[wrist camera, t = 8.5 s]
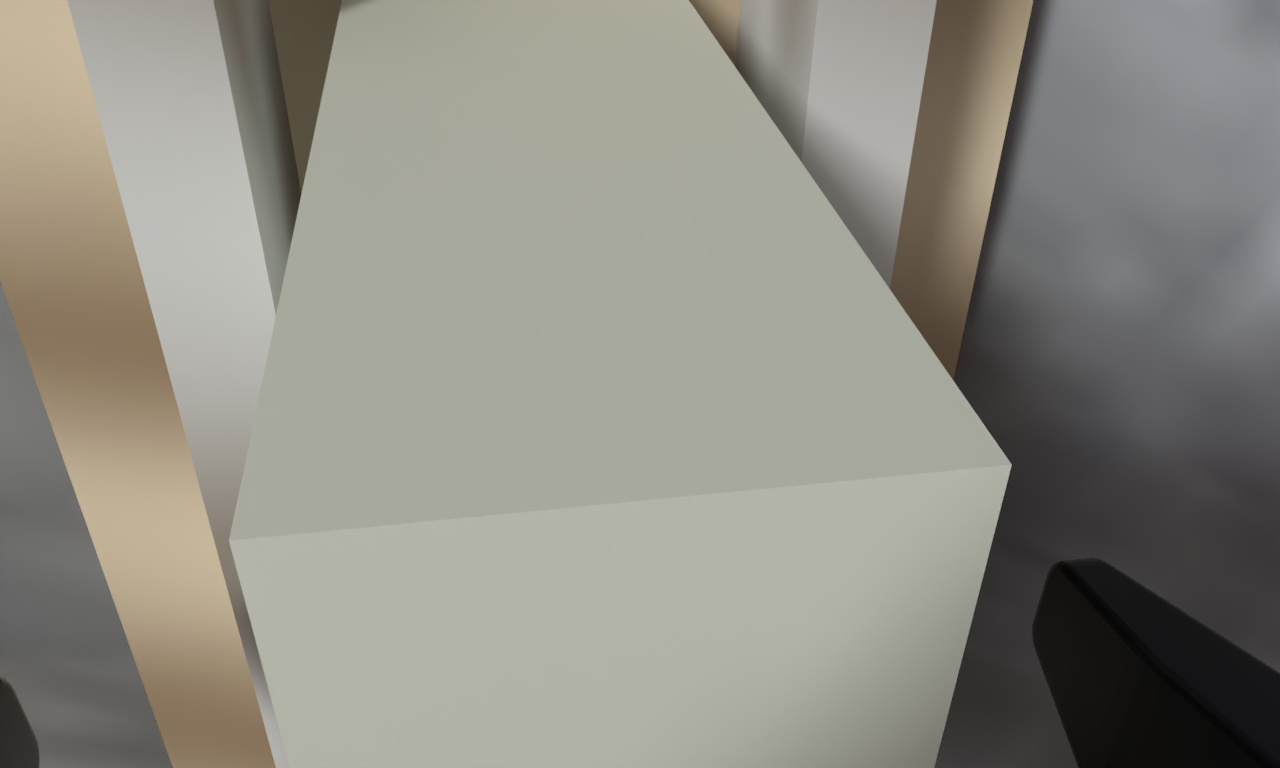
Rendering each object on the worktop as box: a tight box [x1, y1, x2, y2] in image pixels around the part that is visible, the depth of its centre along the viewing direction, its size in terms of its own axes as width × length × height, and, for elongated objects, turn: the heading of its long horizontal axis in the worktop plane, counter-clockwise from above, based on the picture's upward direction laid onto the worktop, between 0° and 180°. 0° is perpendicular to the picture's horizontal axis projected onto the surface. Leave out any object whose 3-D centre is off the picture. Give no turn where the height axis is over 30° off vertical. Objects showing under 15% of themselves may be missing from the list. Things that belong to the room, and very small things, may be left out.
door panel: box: [229, 0, 1012, 768], centre depth 10 cm, size 9×3×8 cm, turn 179°
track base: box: [0, 0, 1034, 768], centre depth 13 cm, size 17×11×4 cm, turn 179°
